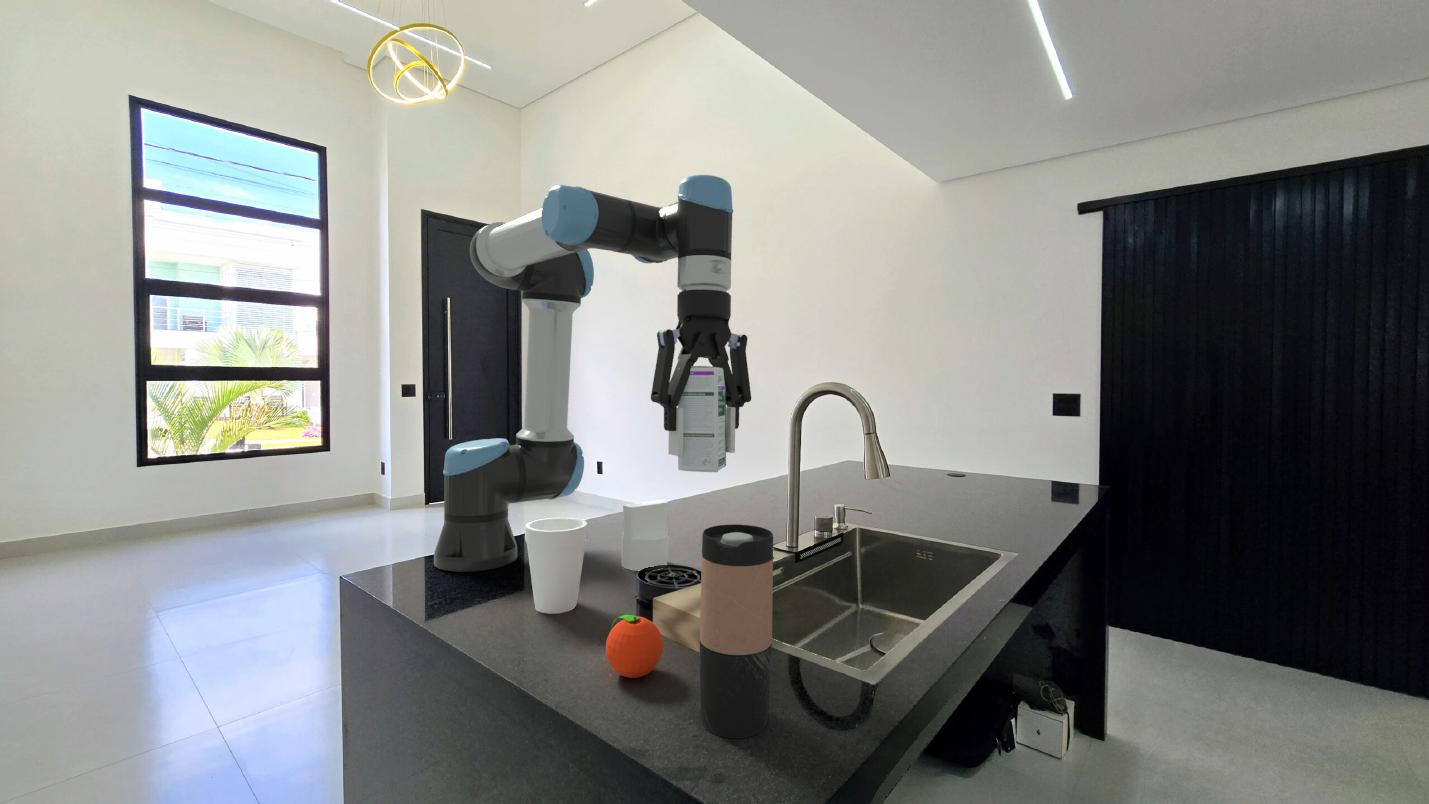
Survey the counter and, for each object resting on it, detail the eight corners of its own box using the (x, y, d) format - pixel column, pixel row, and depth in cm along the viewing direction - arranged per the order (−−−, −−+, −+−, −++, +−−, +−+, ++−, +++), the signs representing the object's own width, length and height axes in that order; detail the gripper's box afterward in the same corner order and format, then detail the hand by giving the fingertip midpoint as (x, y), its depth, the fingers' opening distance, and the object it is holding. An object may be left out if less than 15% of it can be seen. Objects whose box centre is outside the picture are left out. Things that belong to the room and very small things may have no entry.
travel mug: (746, 694, 70) (749, 521, 69) (784, 728, 63) (788, 537, 62) (686, 710, 66) (689, 527, 65) (719, 748, 59) (723, 545, 59)
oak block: (652, 632, 87) (653, 598, 87) (707, 612, 95) (707, 580, 95) (706, 658, 79) (706, 620, 79) (760, 634, 87) (761, 599, 87)
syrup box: (718, 472, 82) (719, 365, 82) (676, 470, 84) (677, 365, 83) (726, 467, 88) (727, 367, 87) (686, 465, 89) (688, 366, 89)
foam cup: (536, 622, 89) (537, 534, 89) (516, 602, 96) (516, 521, 96) (596, 608, 95) (597, 526, 94) (572, 591, 102) (573, 515, 102)
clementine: (588, 671, 74) (588, 614, 74) (631, 653, 79) (632, 600, 79) (630, 695, 69) (631, 633, 69) (674, 674, 74) (675, 616, 74)
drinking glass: (638, 575, 111) (639, 510, 111) (612, 563, 118) (613, 502, 118) (677, 566, 117) (678, 504, 117) (650, 555, 124) (651, 497, 124)
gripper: (650, 280, 76) (648, 460, 77) (778, 295, 88) (776, 452, 88) (625, 287, 82) (623, 454, 83) (748, 301, 94) (745, 447, 95)
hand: (702, 453), depth 86 cm, fingers closed on syrup box, 8 cm apart
